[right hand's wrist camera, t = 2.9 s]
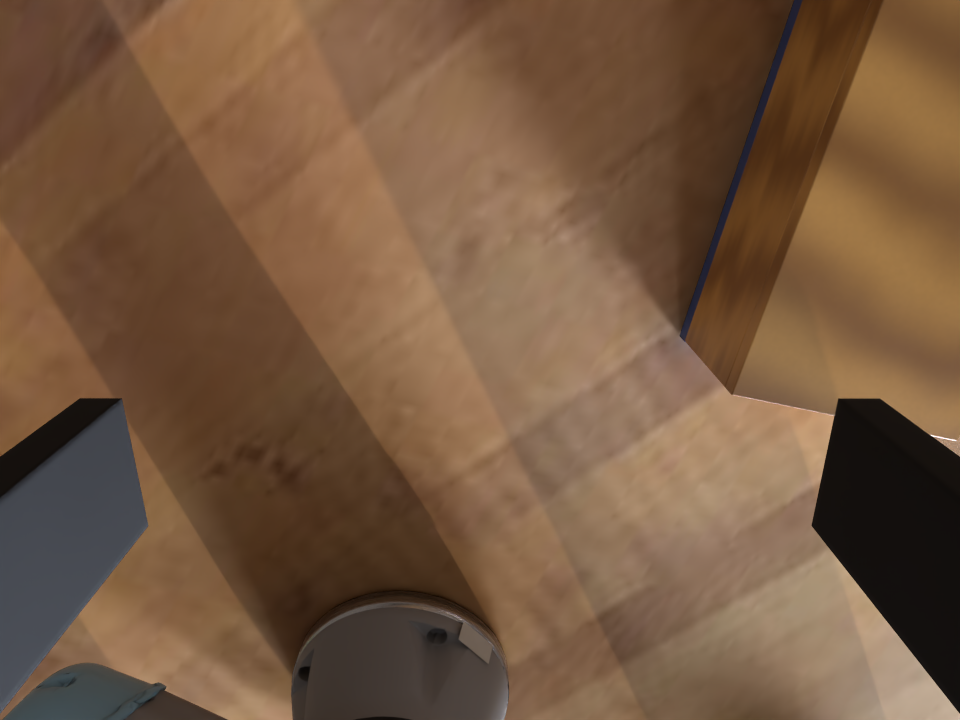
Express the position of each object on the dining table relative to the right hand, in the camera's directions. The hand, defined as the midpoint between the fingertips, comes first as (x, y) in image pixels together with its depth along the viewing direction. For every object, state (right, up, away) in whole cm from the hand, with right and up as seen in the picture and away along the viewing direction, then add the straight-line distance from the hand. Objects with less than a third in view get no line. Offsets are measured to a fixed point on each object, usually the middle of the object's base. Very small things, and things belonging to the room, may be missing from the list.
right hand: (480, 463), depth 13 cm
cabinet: (+20, +12, +24) cm, 33 cm away
